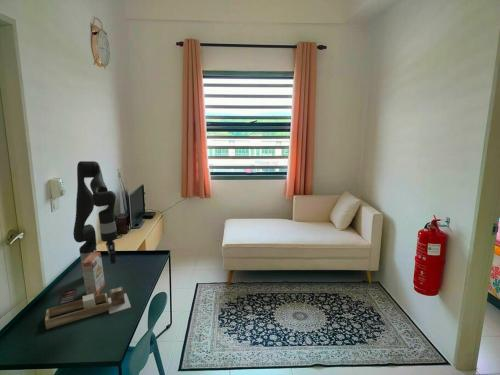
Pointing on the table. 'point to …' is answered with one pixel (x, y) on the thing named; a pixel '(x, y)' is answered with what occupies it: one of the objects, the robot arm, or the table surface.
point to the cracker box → (93, 274)
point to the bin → (75, 315)
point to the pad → (119, 307)
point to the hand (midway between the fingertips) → (112, 260)
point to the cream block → (88, 301)
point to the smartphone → (68, 297)
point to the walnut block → (117, 296)
